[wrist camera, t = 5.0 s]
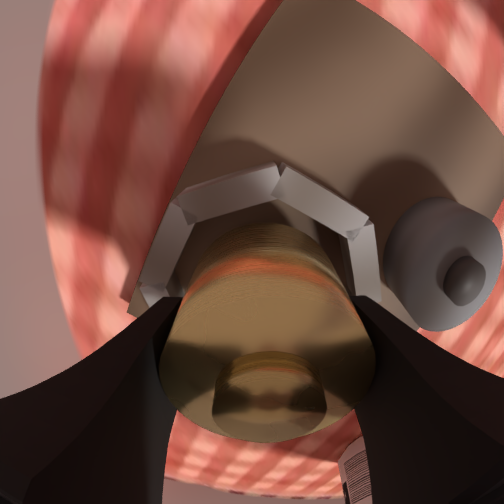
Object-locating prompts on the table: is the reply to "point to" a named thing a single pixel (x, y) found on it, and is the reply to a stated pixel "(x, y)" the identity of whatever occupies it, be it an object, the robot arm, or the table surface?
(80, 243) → the table surface
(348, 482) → the supplement can
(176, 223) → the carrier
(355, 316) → the brass knob
